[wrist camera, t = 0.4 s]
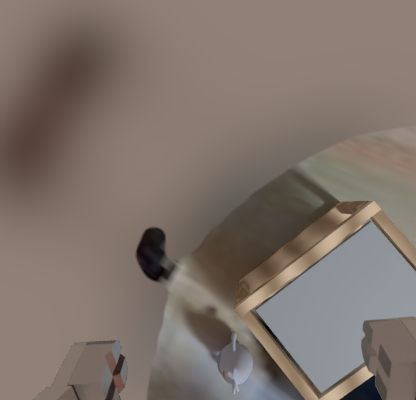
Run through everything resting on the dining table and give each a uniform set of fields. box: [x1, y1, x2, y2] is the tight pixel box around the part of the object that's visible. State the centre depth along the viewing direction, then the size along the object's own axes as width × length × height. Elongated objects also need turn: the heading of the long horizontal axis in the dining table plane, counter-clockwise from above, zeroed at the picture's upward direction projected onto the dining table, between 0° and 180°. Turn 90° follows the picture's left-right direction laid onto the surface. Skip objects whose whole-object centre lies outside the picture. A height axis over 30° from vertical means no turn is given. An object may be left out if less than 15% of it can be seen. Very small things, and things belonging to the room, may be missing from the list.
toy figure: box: [218, 331, 253, 394], centre depth 56 cm, size 11×6×12 cm, turn 4°
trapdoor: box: [256, 221, 416, 393], centre depth 45 cm, size 20×14×3 cm
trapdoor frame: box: [234, 201, 416, 400], centre depth 52 cm, size 24×18×16 cm
